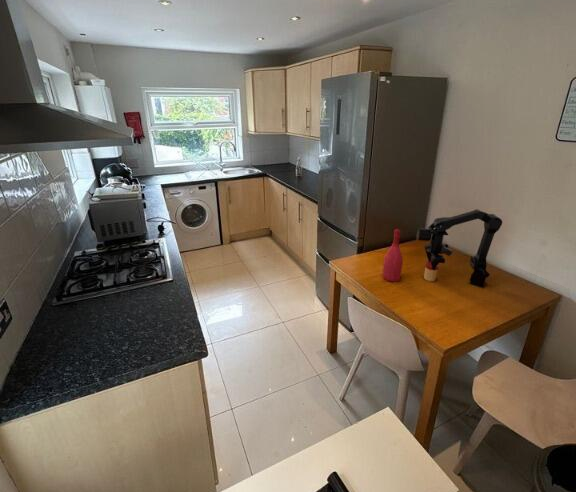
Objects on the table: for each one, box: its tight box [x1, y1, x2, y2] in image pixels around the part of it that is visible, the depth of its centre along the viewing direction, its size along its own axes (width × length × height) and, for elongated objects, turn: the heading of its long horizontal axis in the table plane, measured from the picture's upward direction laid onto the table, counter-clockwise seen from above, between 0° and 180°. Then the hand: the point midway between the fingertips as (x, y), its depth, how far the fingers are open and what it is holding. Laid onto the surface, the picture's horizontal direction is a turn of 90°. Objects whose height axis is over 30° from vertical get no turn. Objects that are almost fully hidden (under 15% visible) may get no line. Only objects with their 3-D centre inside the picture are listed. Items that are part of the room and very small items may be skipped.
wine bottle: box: [382, 228, 404, 283], centre depth 167 cm, size 10×10×30 cm
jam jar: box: [423, 266, 439, 282], centre depth 171 cm, size 6×6×9 cm
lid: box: [424, 261, 440, 271], centre depth 169 cm, size 7×7×2 cm
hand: (431, 266), depth 169 cm, fingers closed on lid, 6 cm apart
